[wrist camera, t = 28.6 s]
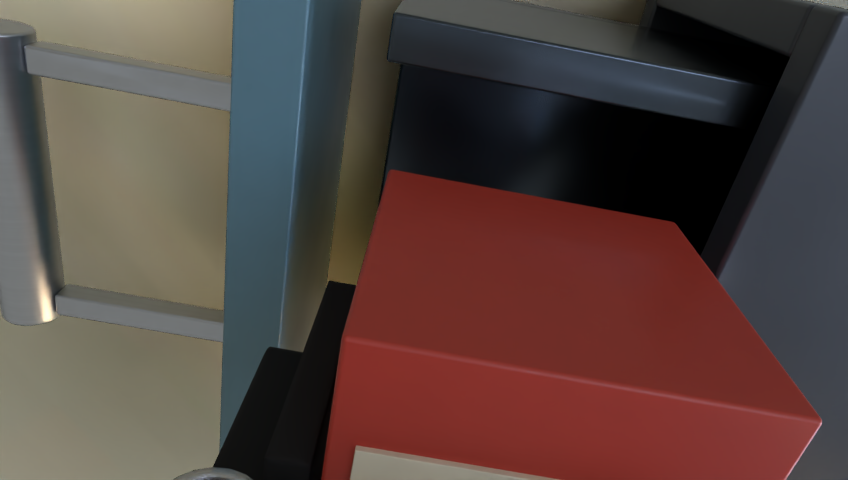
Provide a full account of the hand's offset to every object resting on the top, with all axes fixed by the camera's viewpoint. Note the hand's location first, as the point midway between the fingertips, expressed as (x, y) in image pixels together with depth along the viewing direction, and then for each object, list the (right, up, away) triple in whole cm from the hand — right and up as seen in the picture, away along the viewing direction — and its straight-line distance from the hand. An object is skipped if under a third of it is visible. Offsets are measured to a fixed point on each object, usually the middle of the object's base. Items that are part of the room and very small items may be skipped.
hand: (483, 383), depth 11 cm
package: (0, 0, 0) cm, 0 cm away
